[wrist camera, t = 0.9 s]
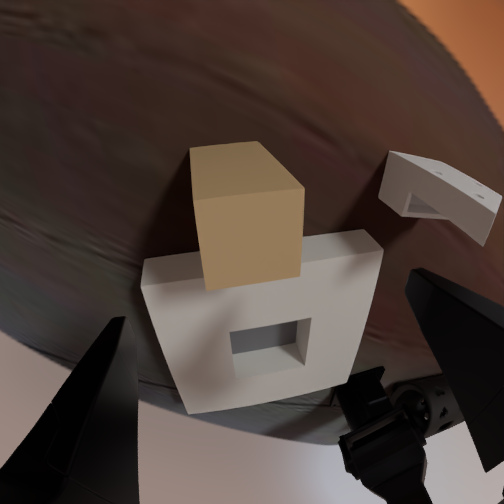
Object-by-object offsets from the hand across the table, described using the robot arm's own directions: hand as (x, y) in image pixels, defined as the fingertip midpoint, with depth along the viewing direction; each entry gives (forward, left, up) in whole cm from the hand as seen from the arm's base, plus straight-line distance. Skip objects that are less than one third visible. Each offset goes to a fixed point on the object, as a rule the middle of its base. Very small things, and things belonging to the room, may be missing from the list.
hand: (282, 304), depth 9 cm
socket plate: (-13, -2, -12) cm, 18 cm away
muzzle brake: (-36, -34, -12) cm, 51 cm away
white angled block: (-1, -14, -12) cm, 18 cm away
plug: (0, 0, -12) cm, 12 cm away
